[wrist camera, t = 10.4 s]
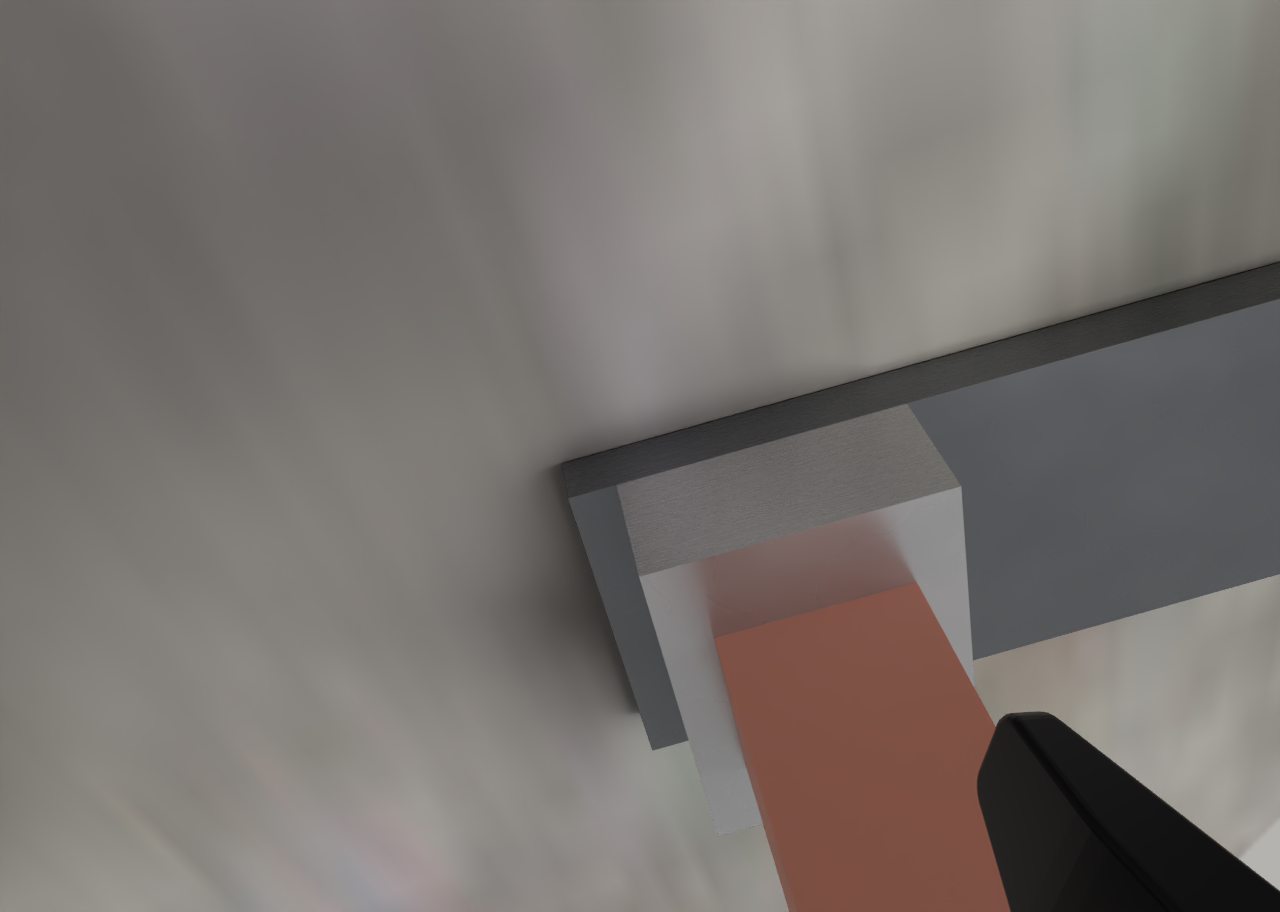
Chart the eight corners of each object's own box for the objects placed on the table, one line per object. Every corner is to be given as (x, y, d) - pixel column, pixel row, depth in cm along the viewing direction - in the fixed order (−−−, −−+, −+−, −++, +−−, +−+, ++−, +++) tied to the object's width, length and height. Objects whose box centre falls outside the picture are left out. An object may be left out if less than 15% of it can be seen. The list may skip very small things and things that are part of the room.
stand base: (644, 712, 28) (674, 849, 25) (561, 464, 24) (585, 591, 21) (1263, 539, 29) (1371, 652, 25) (1303, 255, 24) (1442, 351, 21)
